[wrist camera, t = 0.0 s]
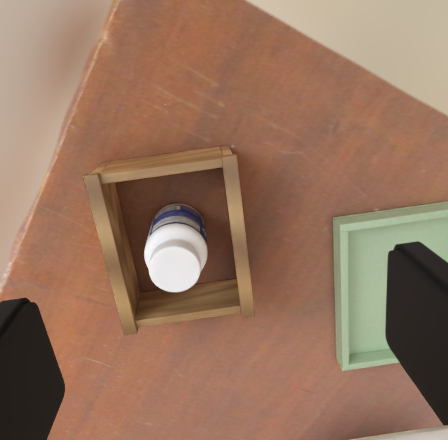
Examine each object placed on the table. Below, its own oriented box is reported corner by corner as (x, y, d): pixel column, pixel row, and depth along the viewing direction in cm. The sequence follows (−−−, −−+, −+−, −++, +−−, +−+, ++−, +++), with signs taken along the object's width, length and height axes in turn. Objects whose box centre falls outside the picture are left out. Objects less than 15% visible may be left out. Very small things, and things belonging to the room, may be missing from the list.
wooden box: (98, 160, 35) (82, 176, 30) (230, 142, 36) (236, 154, 30) (133, 302, 41) (124, 335, 36) (247, 285, 41) (255, 316, 36)
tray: (332, 217, 39) (339, 224, 37) (466, 198, 39) (480, 204, 37) (335, 358, 45) (342, 371, 43) (451, 341, 46) (462, 353, 44)
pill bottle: (197, 257, 40) (198, 306, 31) (146, 245, 39) (133, 293, 30) (211, 208, 38) (216, 247, 30) (157, 195, 37) (147, 232, 29)
